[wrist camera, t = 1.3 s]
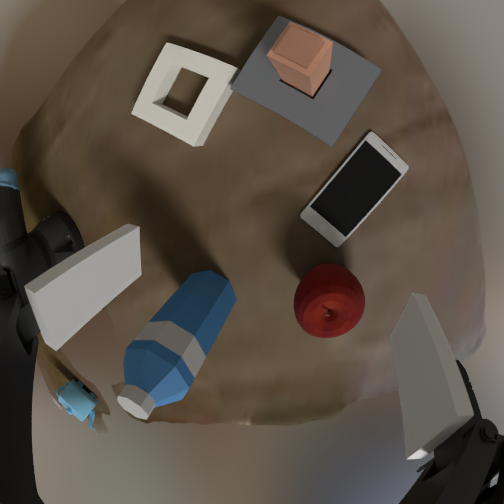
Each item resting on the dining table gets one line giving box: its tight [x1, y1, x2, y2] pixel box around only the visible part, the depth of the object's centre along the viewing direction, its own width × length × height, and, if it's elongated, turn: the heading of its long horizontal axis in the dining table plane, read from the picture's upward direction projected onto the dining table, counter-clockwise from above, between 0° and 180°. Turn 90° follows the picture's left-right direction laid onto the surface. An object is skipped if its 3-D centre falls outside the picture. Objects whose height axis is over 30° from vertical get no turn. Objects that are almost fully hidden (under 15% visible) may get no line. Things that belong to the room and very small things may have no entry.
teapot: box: [56, 379, 98, 430], centre depth 78 cm, size 22×11×14 cm, turn 50°
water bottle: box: [118, 270, 237, 420], centre depth 35 cm, size 9×9×25 cm
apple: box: [294, 263, 365, 338], centre depth 35 cm, size 10×10×10 cm
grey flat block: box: [230, 16, 382, 147], centre depth 27 cm, size 14×12×4 cm
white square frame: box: [131, 42, 241, 147], centre depth 32 cm, size 12×12×3 cm
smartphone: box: [300, 132, 409, 247], centre depth 34 cm, size 7×16×1 cm, turn 145°
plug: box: [266, 22, 333, 99], centre depth 23 cm, size 4×4×15 cm
